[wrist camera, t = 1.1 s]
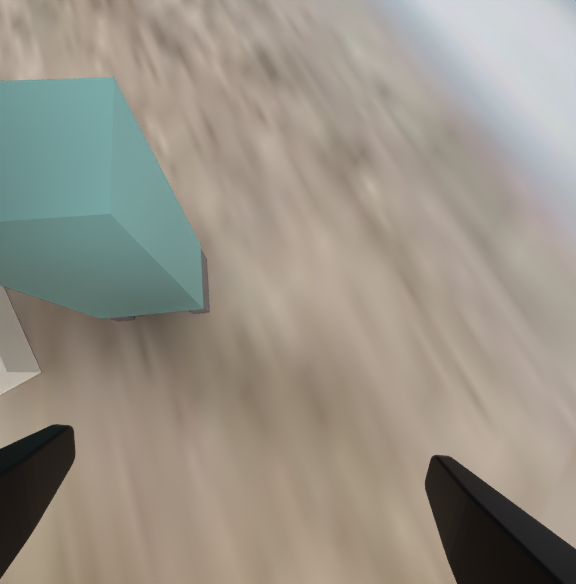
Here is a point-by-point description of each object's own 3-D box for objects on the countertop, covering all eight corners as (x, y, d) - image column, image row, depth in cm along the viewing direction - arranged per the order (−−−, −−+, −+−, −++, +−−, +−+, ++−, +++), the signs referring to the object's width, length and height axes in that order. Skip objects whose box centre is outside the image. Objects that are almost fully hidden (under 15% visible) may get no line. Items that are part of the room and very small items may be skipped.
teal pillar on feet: (209, 315, 20) (110, 214, 7) (117, 324, 19) (-160, 232, 7) (206, 256, 21) (114, 77, 8) (119, 263, 20) (-121, 84, 8)
